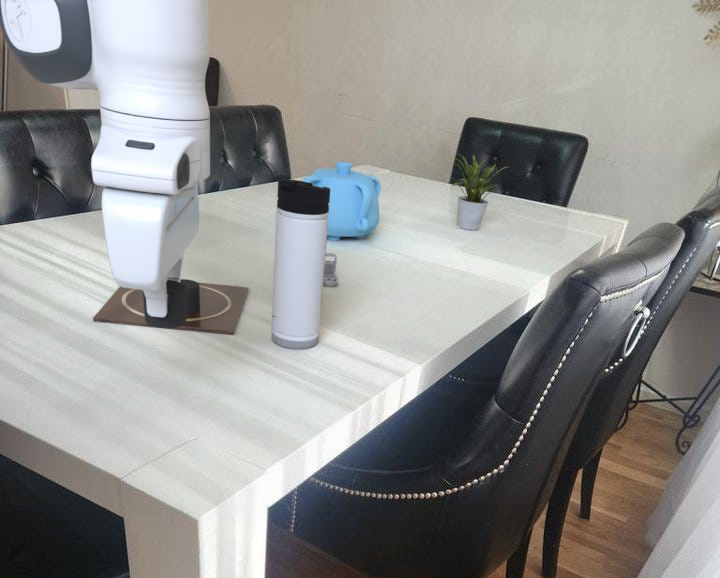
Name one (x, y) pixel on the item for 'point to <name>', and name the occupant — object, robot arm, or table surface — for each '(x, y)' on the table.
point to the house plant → (473, 195)
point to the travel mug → (299, 263)
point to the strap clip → (330, 271)
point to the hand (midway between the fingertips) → (164, 304)
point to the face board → (214, 314)
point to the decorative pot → (349, 200)
